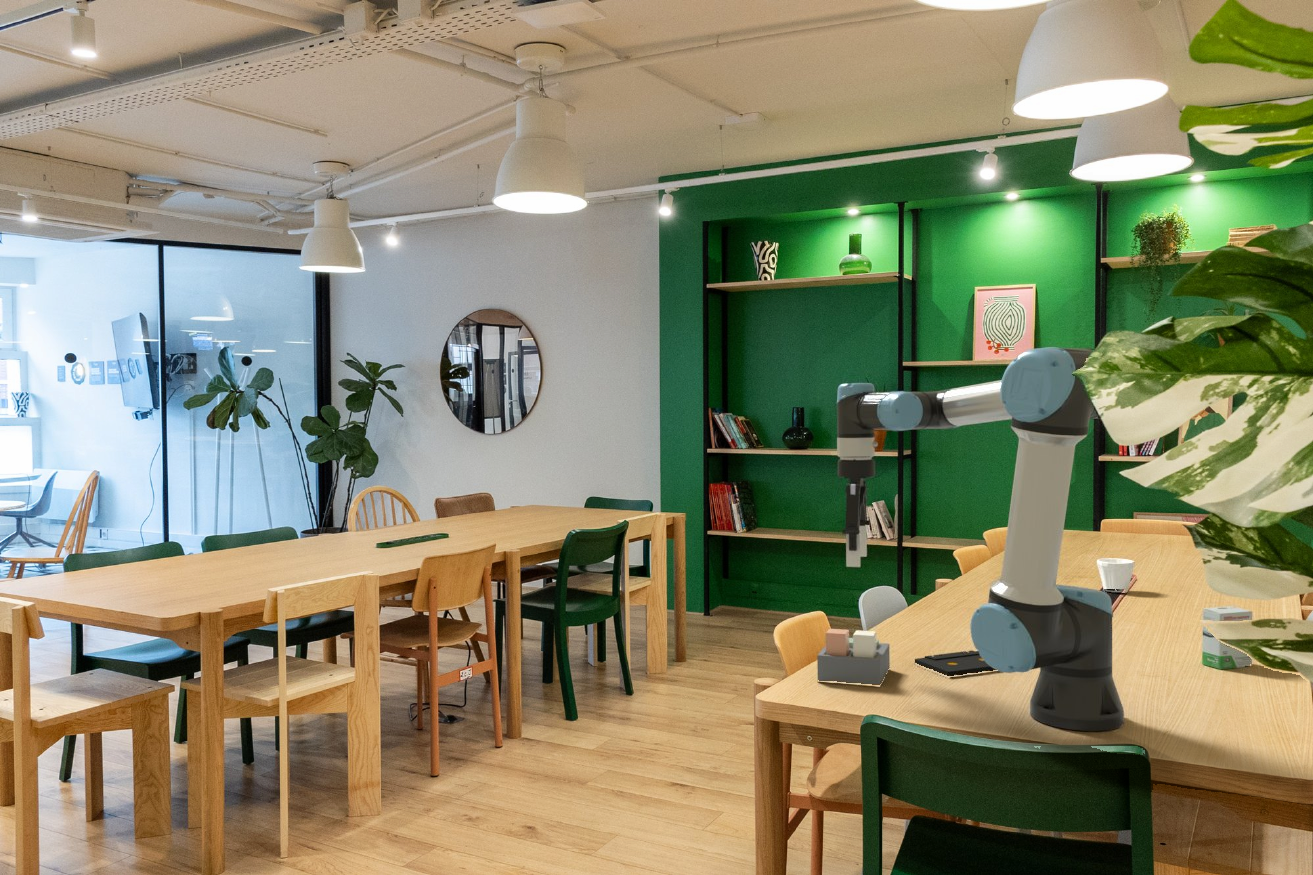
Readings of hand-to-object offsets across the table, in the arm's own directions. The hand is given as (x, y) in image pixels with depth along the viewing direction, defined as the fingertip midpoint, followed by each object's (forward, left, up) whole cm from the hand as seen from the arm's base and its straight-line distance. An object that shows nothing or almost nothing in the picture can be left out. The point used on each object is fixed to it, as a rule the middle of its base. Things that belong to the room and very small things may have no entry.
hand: (856, 561), depth 201 cm
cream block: (-5, -2, -20) cm, 20 cm away
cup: (+112, -57, -24) cm, 128 cm away
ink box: (+30, -72, -24) cm, 81 cm away
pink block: (-5, +3, -20) cm, 20 cm away
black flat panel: (+13, -21, -24) cm, 34 cm away
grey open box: (-1, +1, -24) cm, 24 cm away
